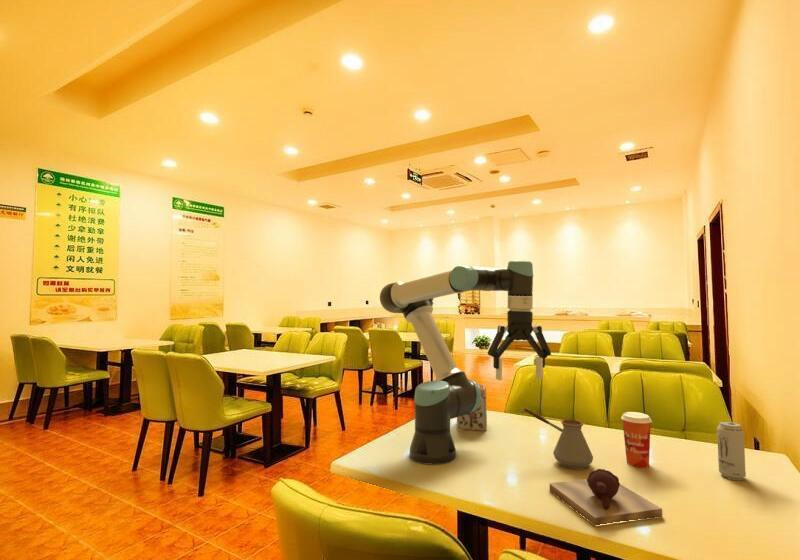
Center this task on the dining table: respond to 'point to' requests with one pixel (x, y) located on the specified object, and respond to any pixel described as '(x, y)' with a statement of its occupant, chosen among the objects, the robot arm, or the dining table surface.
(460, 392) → the robot arm
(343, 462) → the dining table surface
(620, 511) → the serving board
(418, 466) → the dining table surface
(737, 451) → the energy drink can
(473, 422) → the decorative jar
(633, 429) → the coffee cup
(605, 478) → the icecream
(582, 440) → the coffee pot
